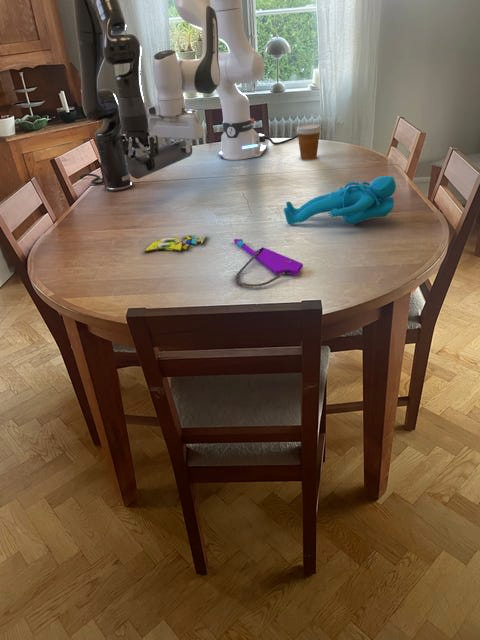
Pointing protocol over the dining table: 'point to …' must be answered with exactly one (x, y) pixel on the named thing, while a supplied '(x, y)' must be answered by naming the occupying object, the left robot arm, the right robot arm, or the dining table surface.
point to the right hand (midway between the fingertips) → (178, 151)
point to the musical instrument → (269, 262)
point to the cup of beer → (308, 140)
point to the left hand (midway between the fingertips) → (143, 169)
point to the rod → (158, 159)
